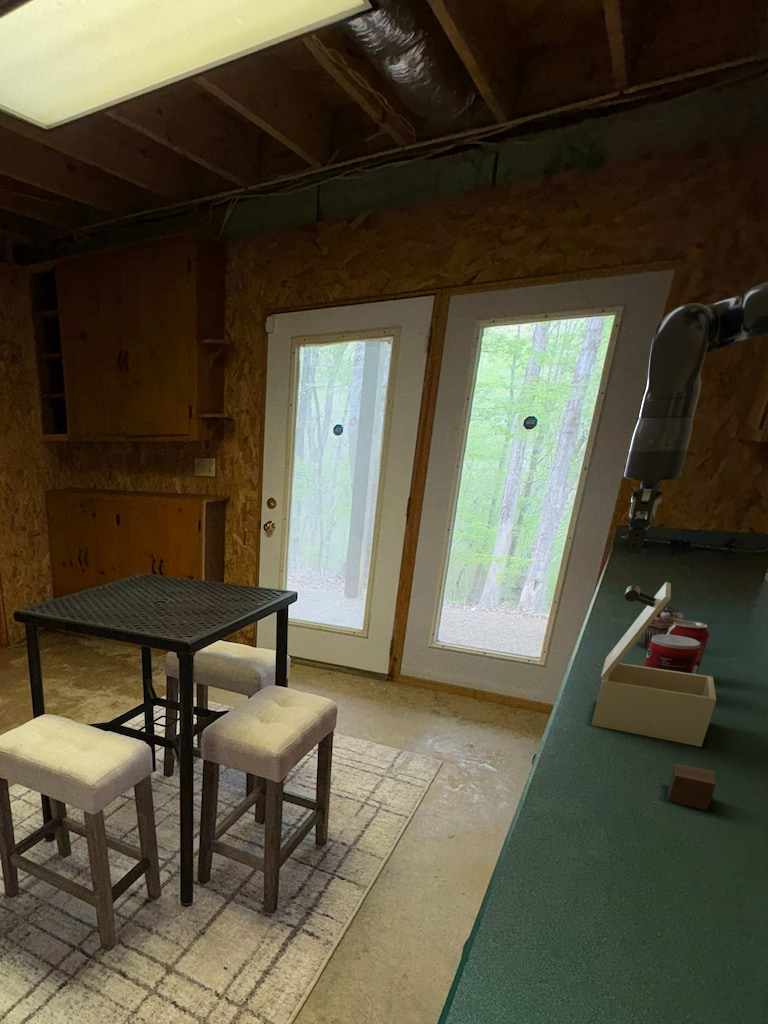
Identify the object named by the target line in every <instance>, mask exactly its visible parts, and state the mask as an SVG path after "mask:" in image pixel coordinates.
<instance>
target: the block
mask: <svg viewBox="0 0 768 1024" xmlns="http://www.w3.org/2000/svg"><path fill="white" fill-rule="evenodd" d="M715 775H716V774H715V770H711V769H710V770H709V769H705V768H700V767H695V766H691V765H686V764H681V763H675V764H674V767H673V770H672V774H671V777H670V780H669V783H668V787H667V801H668V802H671V803H675V804H678V805H683V806H687V807H691V808H696V809H699V810H704V811H708V810H709V806H710V803H711V801H712V797H713V795H714V791H715V788H716V786H717V785H716V784H717V782H716V776H715Z"/></svg>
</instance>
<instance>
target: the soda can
mask: <svg viewBox="0 0 768 1024" xmlns="http://www.w3.org/2000/svg"><path fill="white" fill-rule="evenodd" d="M707 628H708V624H707V623H705V622H701V621H695V620H689V619H688V620H687V619H685V620H677V621H674V625H672V626H671V627H670V628H669V629H668V631H667V634H668V635H678V636H684V637H688V638H692V639H694V640H697V641H699V642H700V648H699V652H698V655H697V659H696V662H695V665H694V668H693V672H692V674H698V672H699V669H700V665H701V662H702V659H703V657H704V656H703V655H704V652H705V649H706V645H707V642H708V640H709V636H710V633H709V631H708V629H707Z"/></svg>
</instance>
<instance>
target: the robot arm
mask: <svg viewBox="0 0 768 1024" xmlns="http://www.w3.org/2000/svg"><path fill="white" fill-rule="evenodd" d="M767 336H768V281H765V282H762V283H760V284H757V285H755V286H753V287H751V288H748V289H746V291H744V292H743V293H741V294H738V295H735V296H732V297H729V298H726V299H725V298H724V299H722V300H718V301H716V302H712V303H709V304H706V305H704V304H702V303H697V302H690V303H685V304H682V305H679V306H677V307H675V308H673V309H672V310H670V311H669V312H668V313H667V314H666V315H664V317H663V318H662V319H661V320H660V322H659V323H658V325H657V326H656V329H655V331H654V335H653V338H652V343H651V347H650V355H649V363H648V372H647V373H648V374H647V383H646V388H645V392H644V395H643V398H642V402H641V407H640V411H639V415H638V420H637V423H636V426H635V428H634V431H633V434H632V438H631V442H630V446H629V452H628V455H627V460H626V465H625V469H624V473H623V477H624V478H625V479H626V480H635V481H640V485H639V488H638V489H634V490H633V491H632V493H631V499H630V503H631V506H630V509H629V515H628V518H630V521H629V523H628V528H629V531H628V532H629V533H628V536H627V539H626V540H627V541H626V545H625V549H624V551H625V553H626V554H640V553H642V550H643V547H644V543H645V538H646V535H647V531H648V529H650V525H651V521H652V520H653V519H654V518H655V516H656V512H657V508H658V505H659V504H661V500H662V496H663V490H658V489H660V482H661V481H671V480H677V479H679V478H680V477H681V475H682V472H683V467H684V464H685V461H686V456H687V452H688V448H689V444H690V441H691V437H692V432H693V424H694V417H695V412H696V409H697V405H698V402H699V397H700V393H701V389H702V388H701V387H702V380H701V372H702V369H703V366H704V361H705V357H706V355H707V354H709V353H713V352H715V351H718V350H721V349H724V348H727V347H731V346H733V345H736V344H739V343H742V342H744V341H748V340H753V339H757V338H762V337H763V338H764V337H767Z"/></svg>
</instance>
